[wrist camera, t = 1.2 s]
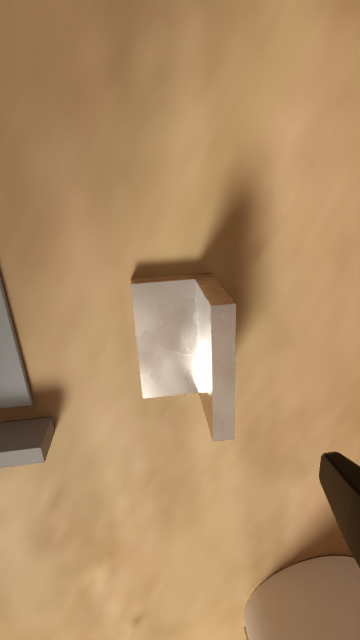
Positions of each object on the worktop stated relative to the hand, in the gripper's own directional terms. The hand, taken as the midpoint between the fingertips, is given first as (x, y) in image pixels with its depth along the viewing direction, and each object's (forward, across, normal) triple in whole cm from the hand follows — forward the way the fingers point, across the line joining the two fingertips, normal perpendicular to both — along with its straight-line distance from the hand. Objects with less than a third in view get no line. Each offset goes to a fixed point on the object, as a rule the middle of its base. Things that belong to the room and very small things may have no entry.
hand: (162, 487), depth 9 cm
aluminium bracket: (+14, -1, +2) cm, 14 cm away
